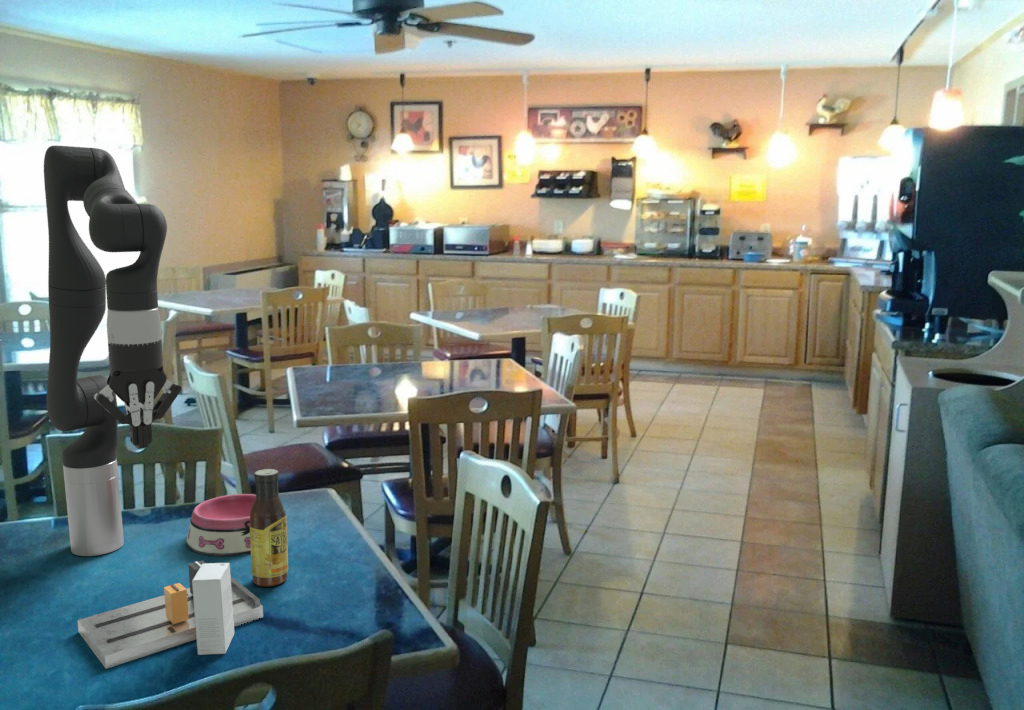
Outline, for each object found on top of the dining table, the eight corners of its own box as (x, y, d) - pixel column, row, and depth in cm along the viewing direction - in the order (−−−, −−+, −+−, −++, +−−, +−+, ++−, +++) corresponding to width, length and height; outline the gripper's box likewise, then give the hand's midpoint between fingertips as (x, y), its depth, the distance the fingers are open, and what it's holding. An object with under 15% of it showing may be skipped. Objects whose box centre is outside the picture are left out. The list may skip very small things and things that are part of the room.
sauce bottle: (278, 590, 151) (273, 479, 147) (245, 586, 152) (239, 477, 148) (295, 574, 157) (290, 467, 154) (263, 571, 158) (257, 465, 155)
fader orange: (166, 617, 136) (163, 585, 135) (181, 612, 138) (179, 581, 137) (173, 624, 134) (170, 592, 133) (188, 619, 136) (186, 588, 135)
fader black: (190, 592, 145) (188, 563, 144) (204, 588, 146) (202, 559, 145) (197, 599, 142) (195, 569, 141) (211, 594, 144) (209, 565, 143)
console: (78, 632, 136) (76, 614, 136) (227, 587, 152) (226, 571, 151) (105, 668, 126) (104, 649, 125) (263, 617, 141) (262, 600, 141)
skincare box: (206, 635, 135) (202, 562, 133) (235, 634, 136) (230, 561, 134) (196, 656, 129) (191, 580, 127) (225, 654, 130) (221, 579, 128)
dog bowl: (252, 514, 187) (251, 483, 185) (302, 538, 174) (301, 505, 173) (169, 539, 173) (167, 506, 172) (216, 566, 161) (214, 531, 160)
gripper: (171, 329, 140) (176, 434, 143) (81, 337, 131) (89, 448, 135) (187, 337, 134) (192, 446, 137) (94, 346, 126) (102, 461, 129)
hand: (141, 446), depth 136 cm, fingers closed
